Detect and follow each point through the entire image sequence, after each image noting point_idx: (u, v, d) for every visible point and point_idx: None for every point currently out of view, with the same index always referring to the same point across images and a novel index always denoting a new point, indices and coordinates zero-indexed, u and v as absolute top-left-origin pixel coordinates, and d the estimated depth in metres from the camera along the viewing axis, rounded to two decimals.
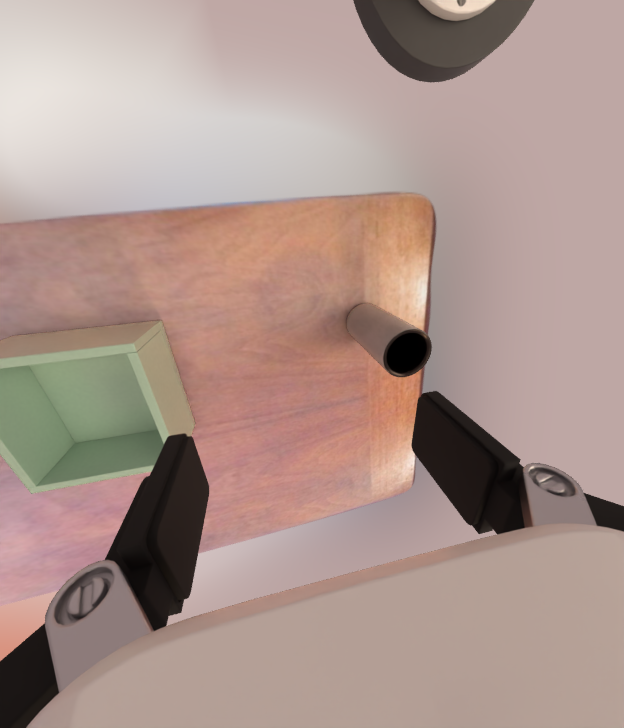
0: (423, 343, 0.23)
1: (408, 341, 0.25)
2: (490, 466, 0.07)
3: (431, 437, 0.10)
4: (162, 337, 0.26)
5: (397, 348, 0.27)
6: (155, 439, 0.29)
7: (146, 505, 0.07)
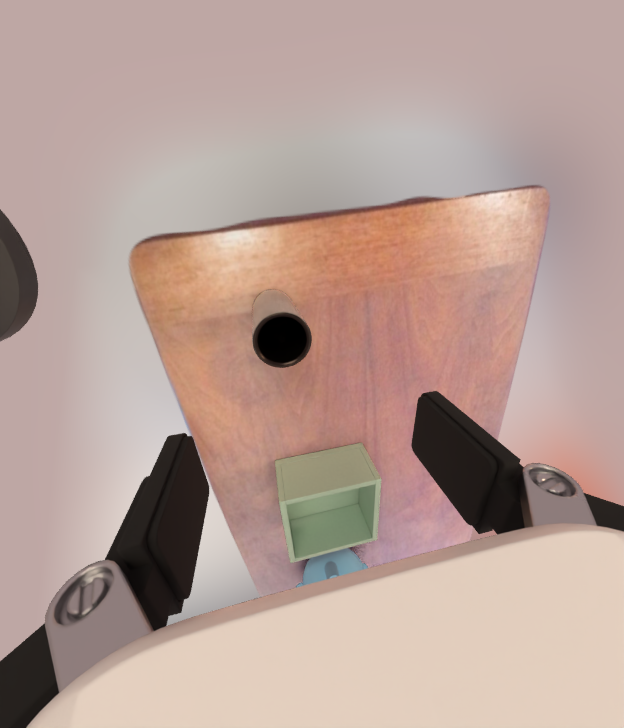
0: (271, 318, 0.19)
1: None
2: (490, 466, 0.07)
3: (431, 437, 0.10)
4: (285, 465, 0.37)
5: None
6: None
7: (146, 505, 0.07)
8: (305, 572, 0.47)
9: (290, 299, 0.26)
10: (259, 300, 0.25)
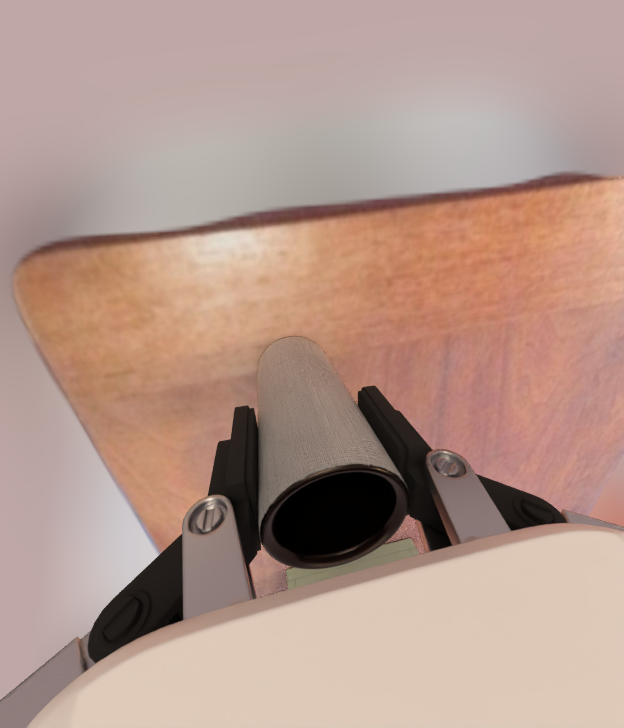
0: None
1: None
2: (399, 452, 0.08)
3: None
4: (302, 580, 0.25)
5: None
6: None
7: (237, 456, 0.08)
8: None
9: (328, 360, 0.14)
10: (271, 368, 0.13)
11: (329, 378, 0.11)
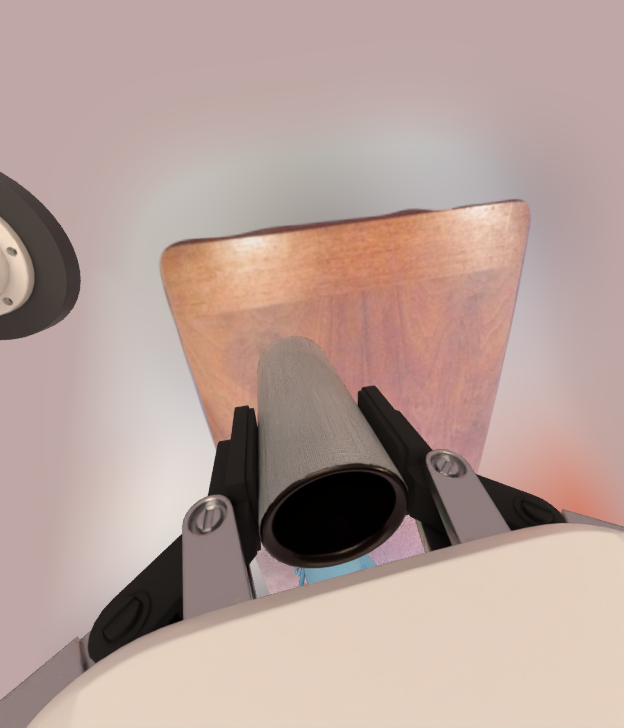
0: None
1: None
2: (399, 452, 0.08)
3: None
4: None
5: None
6: None
7: (237, 456, 0.08)
8: None
9: (328, 360, 0.14)
10: (271, 368, 0.13)
11: (329, 378, 0.11)
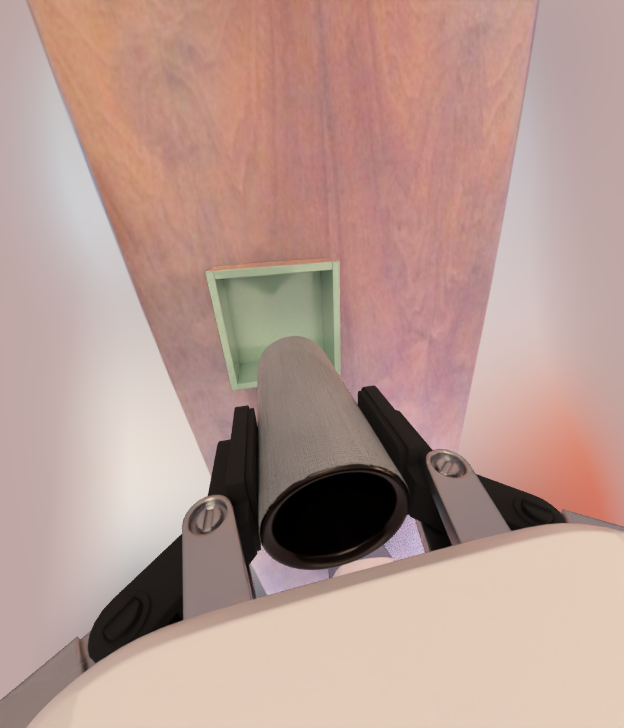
0: None
1: None
2: (399, 452, 0.08)
3: None
4: (226, 265, 0.30)
5: None
6: (324, 290, 0.32)
7: (237, 456, 0.08)
8: None
9: (328, 360, 0.14)
10: (271, 368, 0.13)
11: (329, 378, 0.11)
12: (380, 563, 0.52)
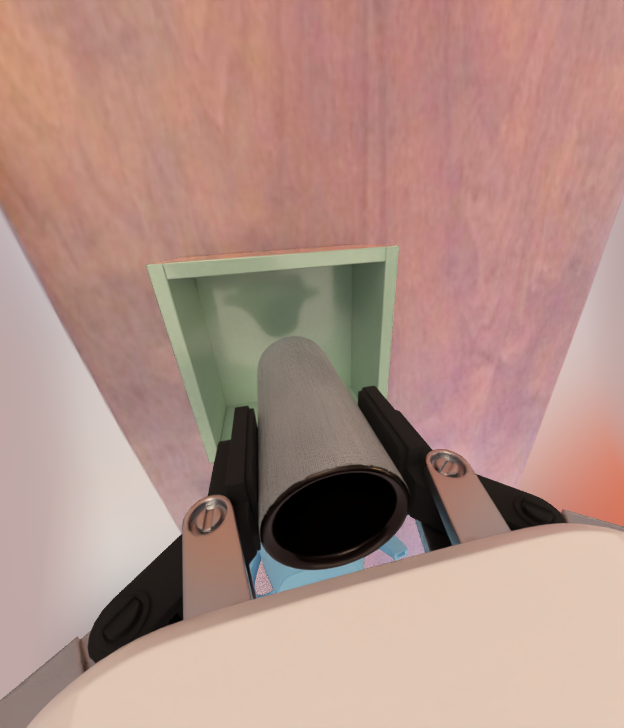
0: None
1: None
2: (399, 452, 0.08)
3: None
4: (199, 256, 0.18)
5: None
6: (359, 297, 0.20)
7: (237, 456, 0.08)
8: None
9: (328, 360, 0.14)
10: (271, 368, 0.13)
11: (329, 378, 0.11)
12: None
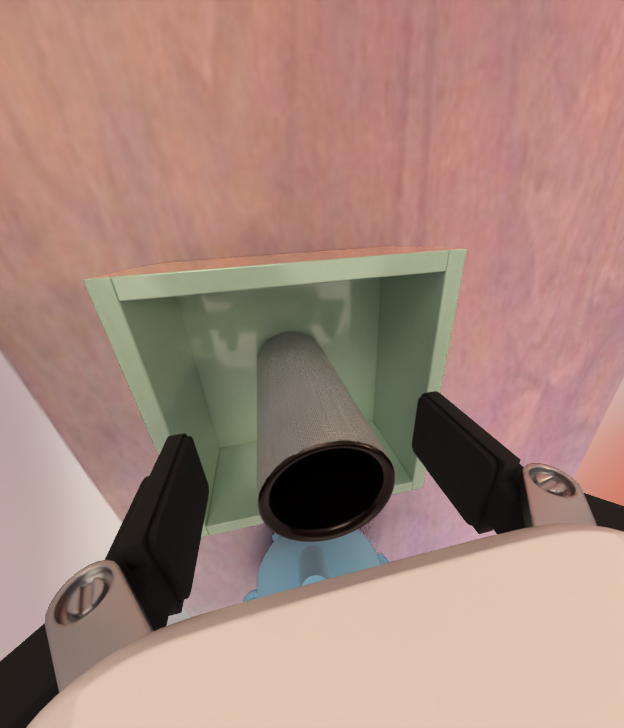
0: None
1: None
2: (490, 466, 0.07)
3: (431, 437, 0.10)
4: (179, 262, 0.13)
5: None
6: (393, 315, 0.15)
7: (146, 505, 0.07)
8: (261, 568, 0.23)
9: (324, 354, 0.15)
10: (270, 361, 0.13)
11: (324, 369, 0.12)
12: None
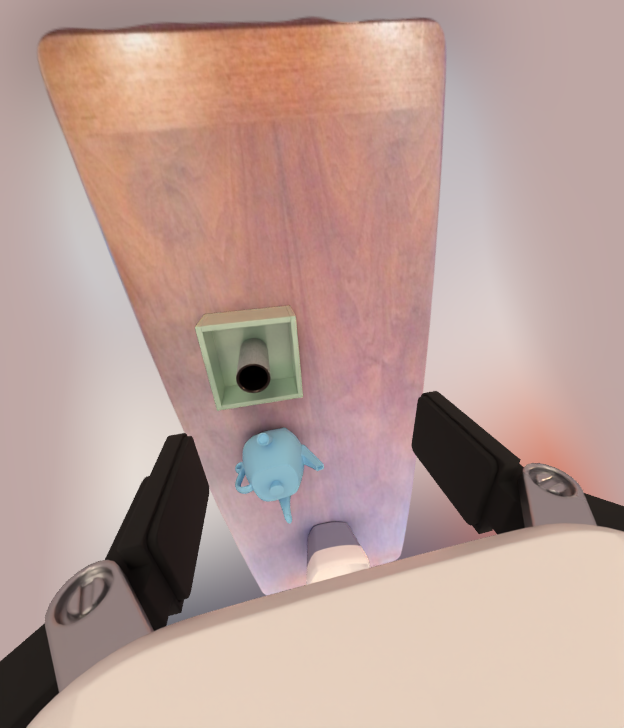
0: None
1: None
2: (490, 466, 0.07)
3: (431, 437, 0.10)
4: (212, 315, 0.39)
5: None
6: (289, 332, 0.41)
7: (146, 505, 0.07)
8: (244, 446, 0.49)
9: (263, 346, 0.41)
10: (243, 348, 0.40)
11: (259, 350, 0.38)
12: (348, 549, 0.61)
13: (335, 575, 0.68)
